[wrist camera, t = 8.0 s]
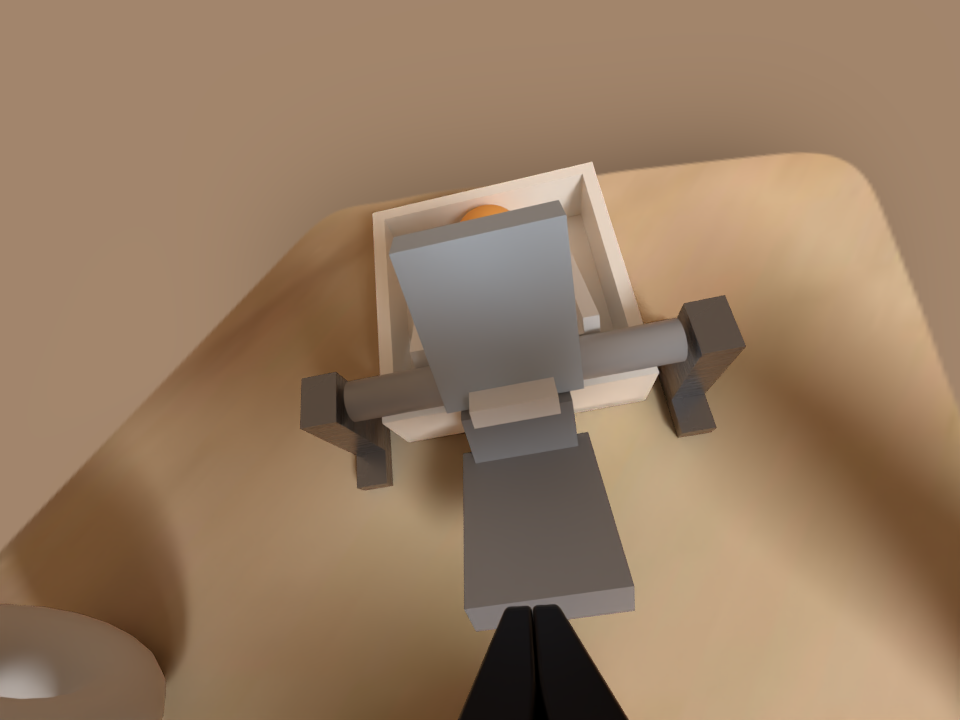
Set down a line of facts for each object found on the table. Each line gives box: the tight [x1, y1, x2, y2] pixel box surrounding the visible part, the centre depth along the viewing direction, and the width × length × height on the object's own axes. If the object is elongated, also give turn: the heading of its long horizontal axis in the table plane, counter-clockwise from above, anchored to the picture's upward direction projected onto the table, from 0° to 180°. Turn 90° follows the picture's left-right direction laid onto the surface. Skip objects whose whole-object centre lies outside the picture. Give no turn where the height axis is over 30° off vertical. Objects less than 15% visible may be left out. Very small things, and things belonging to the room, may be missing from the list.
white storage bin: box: [372, 162, 659, 442], centre depth 22 cm, size 11×11×4 cm
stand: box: [300, 295, 746, 490], centre depth 19 cm, size 5×16×6 cm, turn 98°
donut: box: [0, 604, 166, 720], centre depth 16 cm, size 10×4×10 cm, turn 69°
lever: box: [344, 200, 688, 631], centre depth 17 cm, size 14×12×10 cm
